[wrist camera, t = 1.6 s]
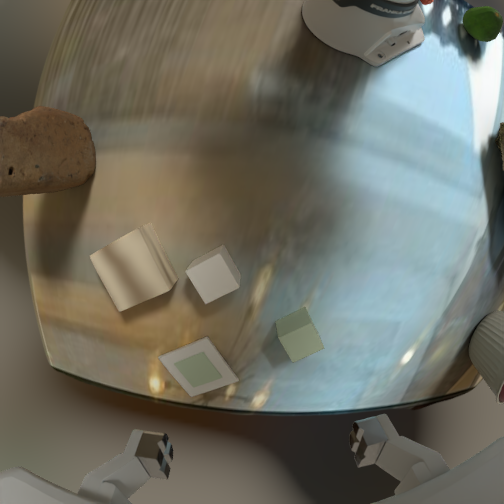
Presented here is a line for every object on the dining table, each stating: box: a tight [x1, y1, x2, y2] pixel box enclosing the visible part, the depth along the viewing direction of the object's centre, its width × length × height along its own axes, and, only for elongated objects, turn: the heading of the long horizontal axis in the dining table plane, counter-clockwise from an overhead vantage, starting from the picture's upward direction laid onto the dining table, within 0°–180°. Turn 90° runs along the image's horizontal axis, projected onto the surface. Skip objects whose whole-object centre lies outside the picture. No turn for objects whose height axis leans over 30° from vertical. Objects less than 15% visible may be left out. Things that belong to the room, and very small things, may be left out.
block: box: [0, 106, 96, 197], centre depth 24 cm, size 11×8×20 cm
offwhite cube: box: [185, 244, 241, 304], centre depth 36 cm, size 5×5×5 cm
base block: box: [90, 223, 178, 312], centre depth 36 cm, size 9×9×5 cm
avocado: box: [463, 6, 503, 42], centre depth 21 cm, size 8×8×12 cm
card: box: [158, 336, 239, 397], centre depth 42 cm, size 10×10×1 cm
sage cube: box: [275, 307, 324, 363], centre depth 38 cm, size 5×5×5 cm
